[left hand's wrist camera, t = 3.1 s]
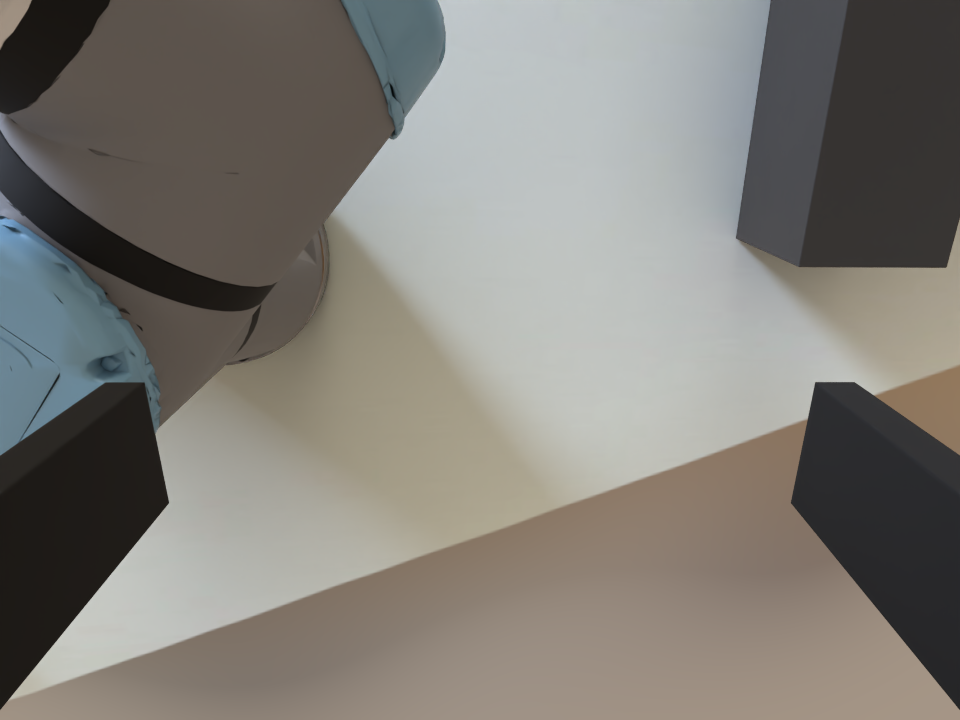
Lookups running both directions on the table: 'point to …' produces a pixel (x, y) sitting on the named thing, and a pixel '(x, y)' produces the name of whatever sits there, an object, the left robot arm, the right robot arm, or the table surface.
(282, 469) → the table surface
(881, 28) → the box
